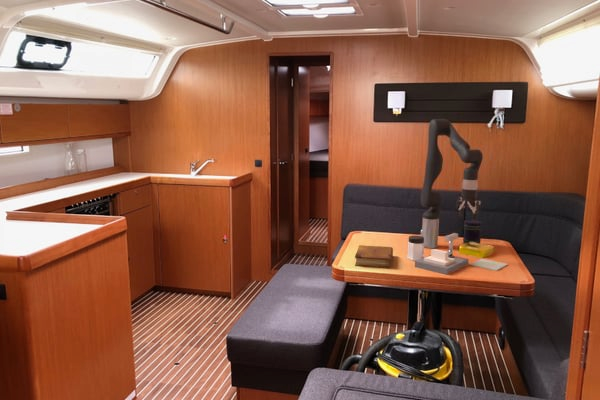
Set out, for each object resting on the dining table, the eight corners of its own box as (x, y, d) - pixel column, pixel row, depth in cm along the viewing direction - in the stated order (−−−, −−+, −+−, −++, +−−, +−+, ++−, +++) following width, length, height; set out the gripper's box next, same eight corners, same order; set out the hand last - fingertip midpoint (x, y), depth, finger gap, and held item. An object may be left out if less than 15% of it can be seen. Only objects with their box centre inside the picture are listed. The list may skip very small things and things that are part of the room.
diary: (391, 269, 246) (391, 258, 245) (354, 267, 250) (355, 256, 249) (392, 256, 268) (393, 246, 267) (359, 254, 272) (359, 244, 271)
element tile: (457, 253, 274) (457, 245, 273) (468, 248, 285) (469, 240, 284) (483, 258, 264) (484, 250, 263) (494, 253, 275) (494, 245, 274)
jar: (421, 256, 267) (422, 235, 265) (425, 260, 259) (426, 239, 257) (405, 256, 267) (406, 235, 265) (408, 260, 259) (409, 239, 257)
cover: (423, 261, 248) (424, 250, 247) (433, 257, 255) (433, 246, 254) (445, 265, 240) (445, 255, 239) (454, 261, 247) (455, 251, 246)
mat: (469, 265, 251) (469, 264, 251) (481, 259, 261) (481, 258, 261) (496, 271, 241) (496, 269, 241) (507, 265, 251) (507, 263, 251)
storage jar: (483, 246, 288) (485, 221, 286) (473, 248, 283) (474, 223, 280) (469, 242, 296) (471, 218, 294) (459, 245, 291) (460, 220, 288)
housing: (414, 266, 248) (415, 260, 248) (436, 257, 265) (437, 251, 264) (447, 274, 236) (447, 268, 235) (468, 264, 252) (468, 258, 252)
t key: (439, 258, 250) (440, 237, 249) (452, 253, 260) (453, 233, 258) (444, 259, 249) (445, 238, 247) (457, 254, 259) (458, 233, 257)
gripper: (453, 186, 254) (452, 216, 257) (476, 190, 242) (473, 222, 245) (463, 185, 258) (461, 215, 261) (486, 189, 246) (483, 220, 249)
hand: (467, 218), depth 253 cm, fingers open, 8 cm apart
